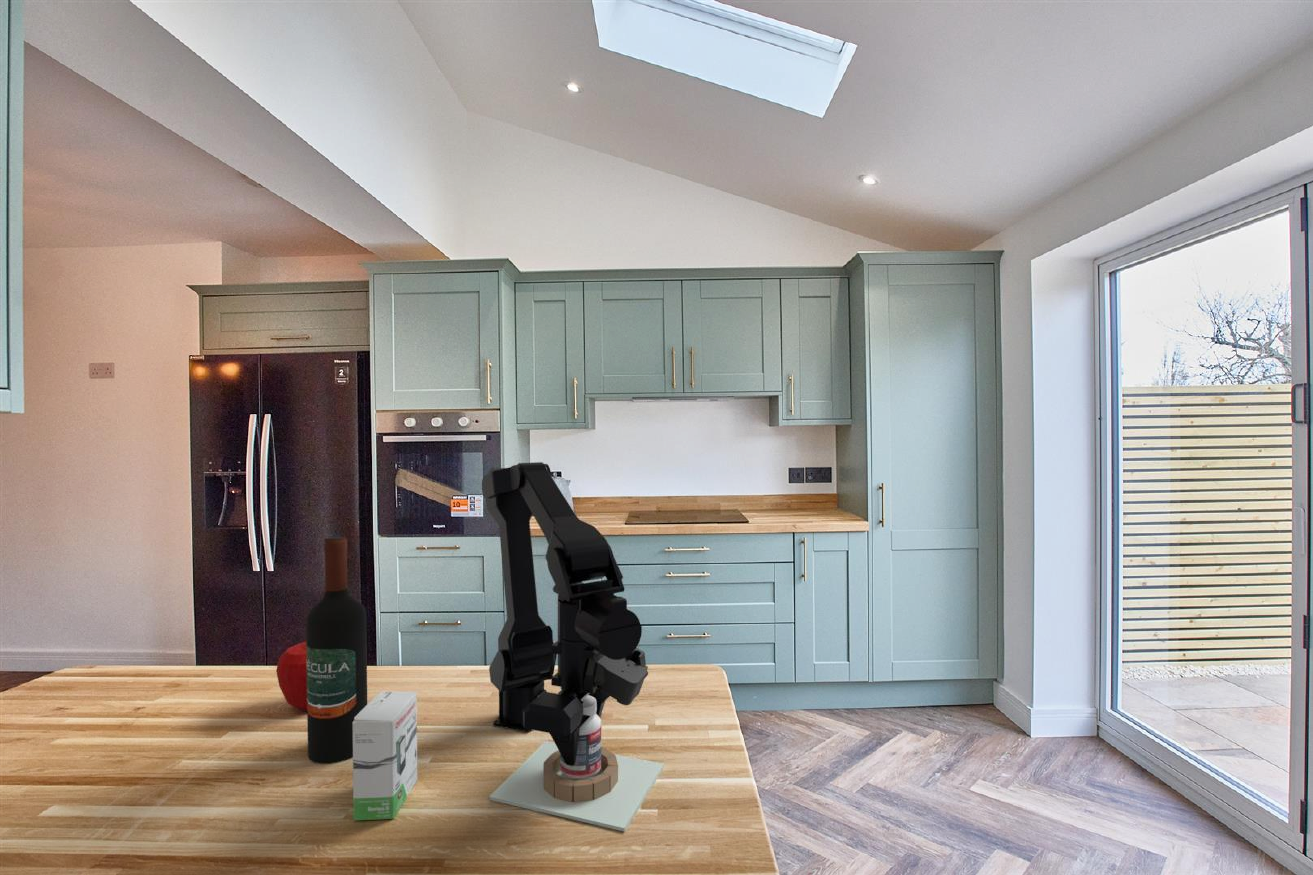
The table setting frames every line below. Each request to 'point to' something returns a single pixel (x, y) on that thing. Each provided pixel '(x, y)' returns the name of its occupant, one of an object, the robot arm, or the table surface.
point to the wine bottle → (335, 662)
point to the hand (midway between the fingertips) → (580, 753)
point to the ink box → (384, 755)
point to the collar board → (581, 811)
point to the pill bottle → (586, 745)
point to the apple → (294, 676)
